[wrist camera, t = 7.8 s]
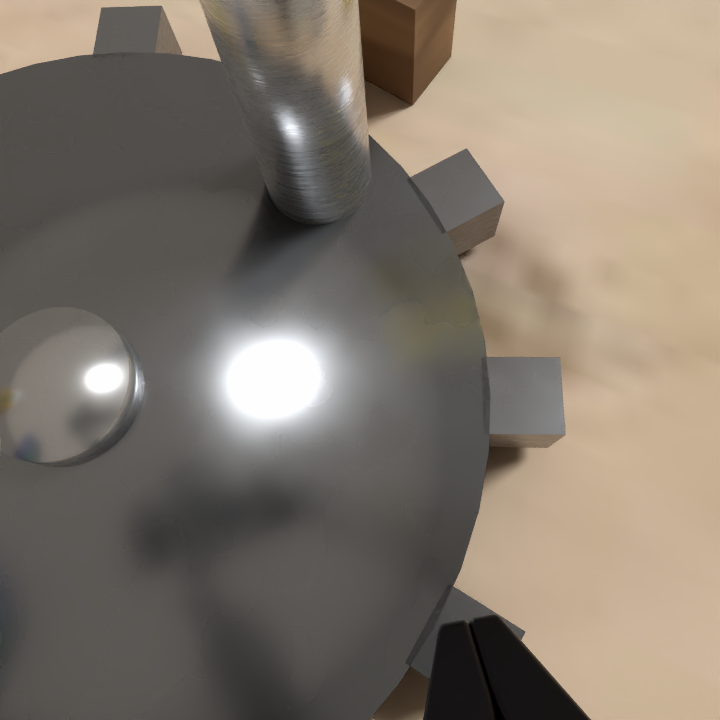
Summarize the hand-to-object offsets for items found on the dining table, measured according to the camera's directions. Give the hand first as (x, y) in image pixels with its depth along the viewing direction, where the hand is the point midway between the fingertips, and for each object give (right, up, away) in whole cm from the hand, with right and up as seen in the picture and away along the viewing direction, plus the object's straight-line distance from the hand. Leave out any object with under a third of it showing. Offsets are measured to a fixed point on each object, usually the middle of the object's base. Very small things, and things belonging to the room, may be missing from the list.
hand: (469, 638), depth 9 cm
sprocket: (-9, +2, +10) cm, 14 cm away
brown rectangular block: (0, +14, +14) cm, 20 cm away
